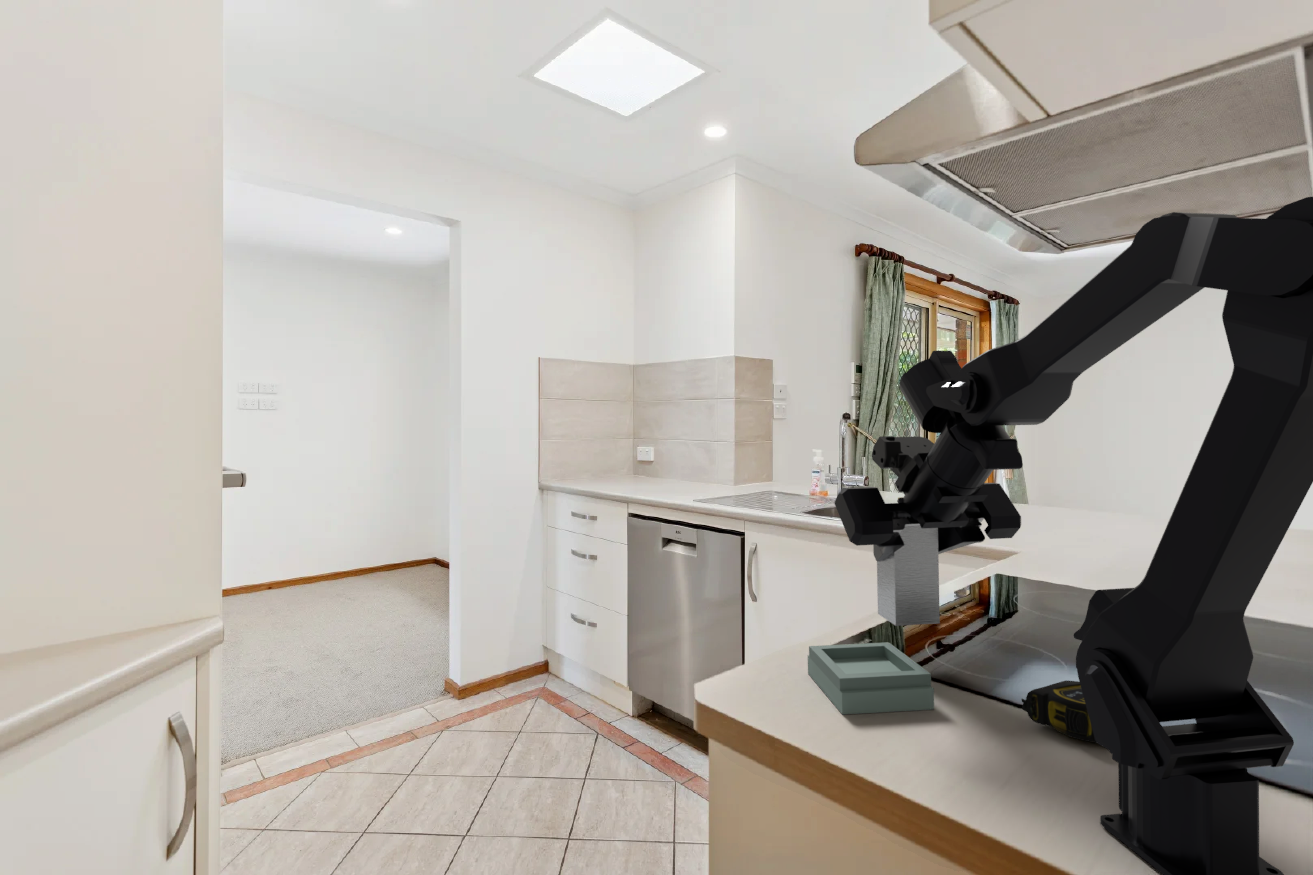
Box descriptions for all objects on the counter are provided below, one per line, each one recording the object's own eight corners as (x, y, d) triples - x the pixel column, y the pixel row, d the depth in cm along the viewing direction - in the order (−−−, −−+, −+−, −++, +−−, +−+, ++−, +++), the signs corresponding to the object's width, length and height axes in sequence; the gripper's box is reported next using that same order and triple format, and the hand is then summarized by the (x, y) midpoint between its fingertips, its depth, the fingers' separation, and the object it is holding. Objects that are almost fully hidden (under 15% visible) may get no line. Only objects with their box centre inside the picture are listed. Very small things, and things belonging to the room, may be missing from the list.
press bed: (933, 709, 60) (933, 675, 60) (842, 714, 59) (841, 680, 59) (887, 669, 70) (886, 640, 70) (807, 673, 69) (807, 644, 69)
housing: (939, 623, 69) (937, 499, 69) (895, 625, 69) (893, 501, 69) (919, 611, 74) (917, 495, 73) (877, 613, 73) (875, 497, 73)
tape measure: (1070, 710, 60) (1070, 671, 60) (1151, 742, 53) (1151, 698, 53) (1021, 725, 57) (1021, 683, 57) (1100, 760, 51) (1100, 714, 51)
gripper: (1001, 409, 69) (942, 499, 80) (840, 412, 66) (802, 505, 77) (1058, 487, 61) (984, 575, 72) (879, 494, 58) (830, 584, 69)
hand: (898, 556), depth 73 cm, fingers closed on housing, 5 cm apart
